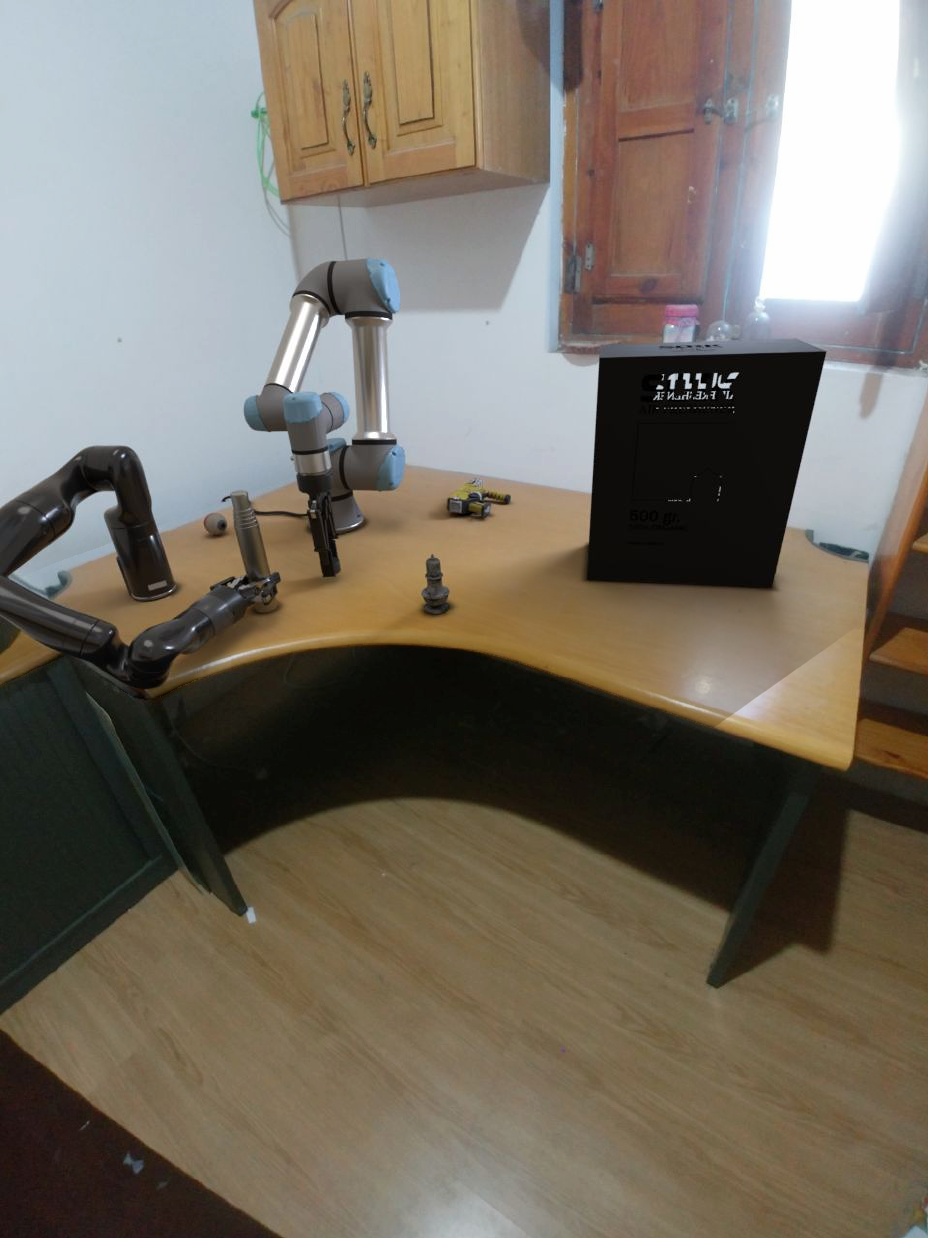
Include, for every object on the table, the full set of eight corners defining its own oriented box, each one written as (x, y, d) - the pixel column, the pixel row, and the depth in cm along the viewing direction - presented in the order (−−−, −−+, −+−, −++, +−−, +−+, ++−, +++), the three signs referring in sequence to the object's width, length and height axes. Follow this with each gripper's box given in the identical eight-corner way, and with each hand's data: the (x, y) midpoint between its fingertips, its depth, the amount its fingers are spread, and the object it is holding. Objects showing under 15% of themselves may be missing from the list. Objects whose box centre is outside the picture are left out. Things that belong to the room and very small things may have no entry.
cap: (344, 567, 139) (342, 557, 138) (335, 576, 136) (333, 565, 135) (327, 566, 141) (325, 556, 139) (318, 574, 137) (316, 563, 136)
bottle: (270, 613, 126) (242, 496, 114) (251, 612, 127) (220, 496, 115) (282, 603, 130) (255, 489, 118) (262, 601, 131) (234, 488, 119)
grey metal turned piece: (447, 614, 122) (443, 560, 116) (419, 613, 123) (413, 559, 117) (453, 601, 127) (450, 548, 121) (426, 599, 128) (421, 547, 122)
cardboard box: (752, 548, 142) (795, 338, 119) (772, 587, 124) (826, 351, 102) (589, 543, 149) (600, 344, 127) (586, 579, 132) (599, 357, 110)
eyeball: (217, 539, 164) (211, 518, 161) (202, 535, 167) (196, 515, 164) (234, 532, 168) (229, 511, 166) (220, 528, 172) (214, 508, 169)
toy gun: (519, 482, 184) (472, 475, 188) (496, 505, 164) (445, 497, 168) (517, 497, 186) (471, 490, 190) (495, 522, 166) (444, 513, 170)
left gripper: (189, 625, 118) (243, 586, 132) (251, 634, 114) (300, 593, 127) (178, 591, 114) (235, 555, 128) (241, 599, 110) (293, 561, 124)
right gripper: (305, 460, 134) (322, 556, 146) (285, 484, 119) (306, 589, 131) (338, 459, 134) (353, 555, 146) (322, 482, 119) (340, 587, 131)
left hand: (267, 574), depth 128 cm, fingers closed on bottle, 4 cm apart
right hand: (331, 571), depth 138 cm, fingers closed on cap, 4 cm apart
